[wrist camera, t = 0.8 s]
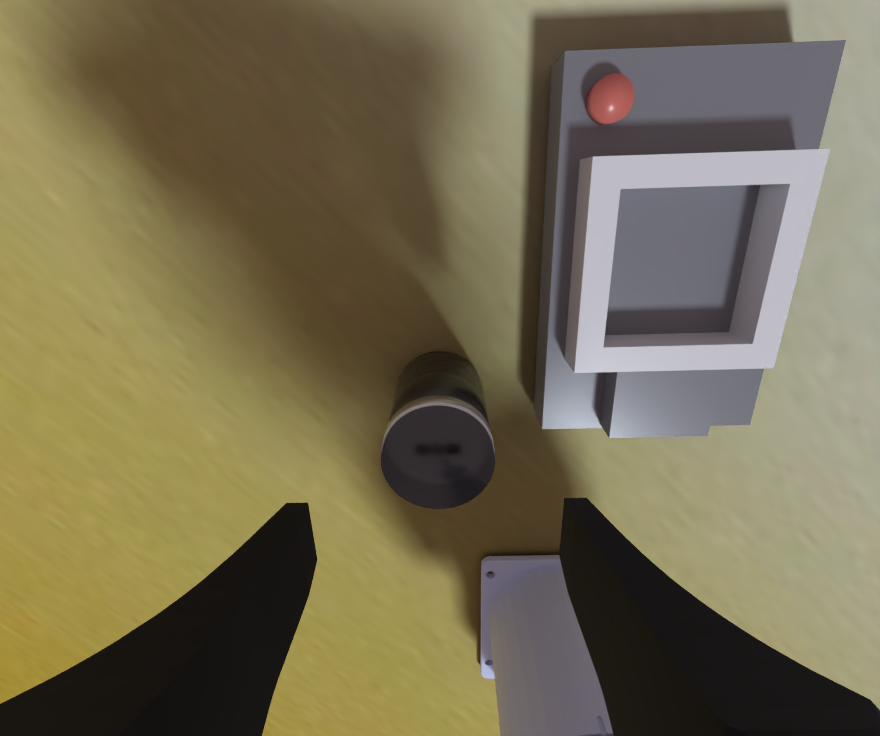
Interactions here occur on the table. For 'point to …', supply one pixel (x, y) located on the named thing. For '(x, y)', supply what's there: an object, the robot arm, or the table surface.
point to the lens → (438, 434)
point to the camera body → (674, 229)
